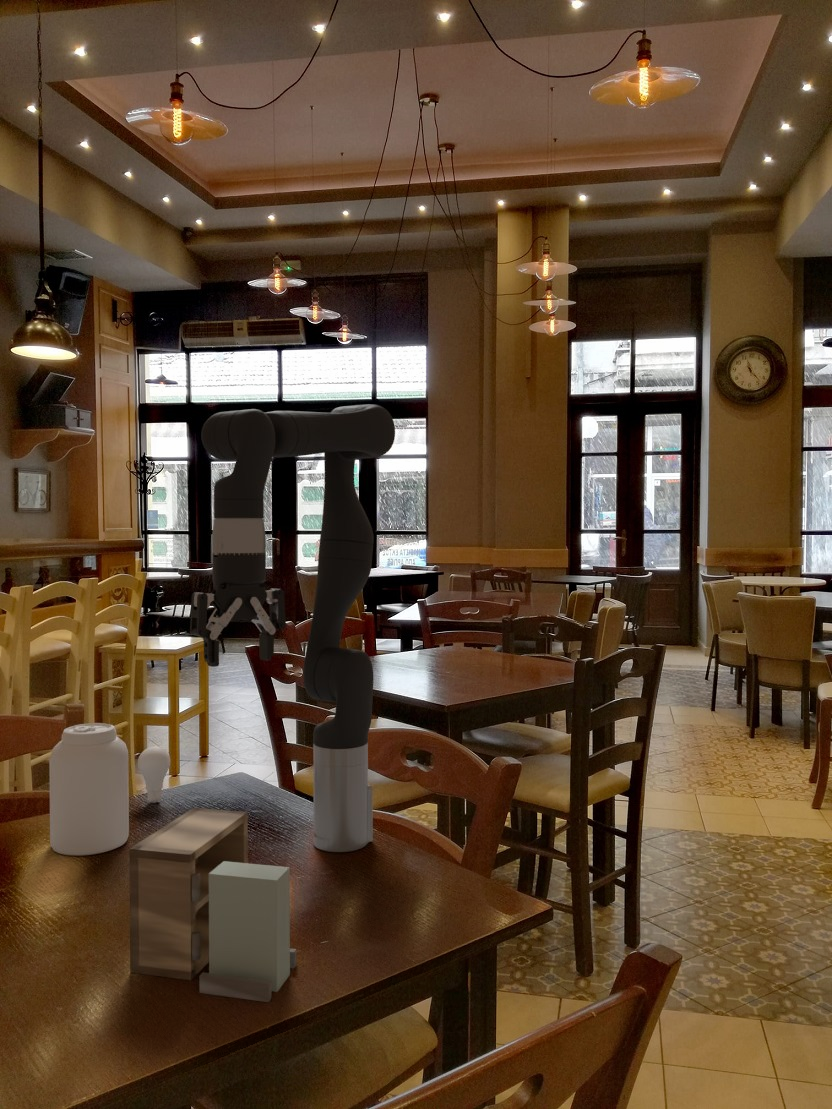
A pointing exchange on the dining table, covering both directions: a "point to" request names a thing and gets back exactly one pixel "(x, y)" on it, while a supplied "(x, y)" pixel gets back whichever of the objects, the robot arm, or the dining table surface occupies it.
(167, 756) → the lightbulb
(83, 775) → the can
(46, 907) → the dining table surface
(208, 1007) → the dining table surface
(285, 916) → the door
